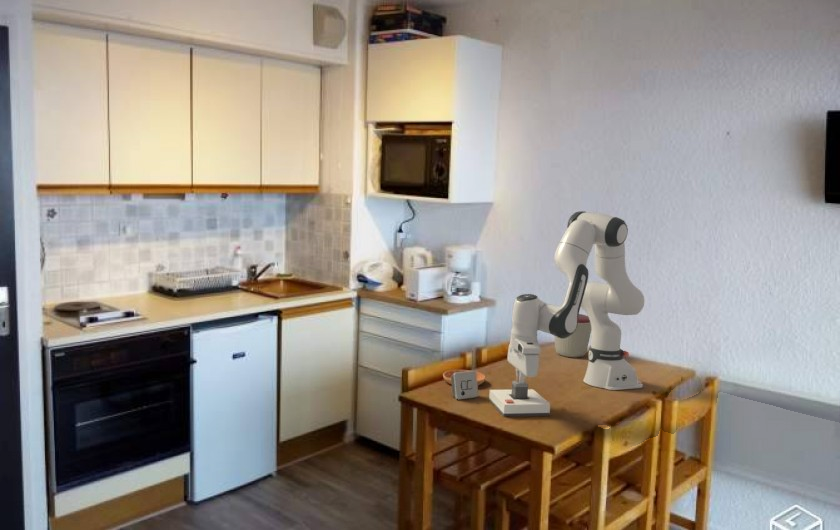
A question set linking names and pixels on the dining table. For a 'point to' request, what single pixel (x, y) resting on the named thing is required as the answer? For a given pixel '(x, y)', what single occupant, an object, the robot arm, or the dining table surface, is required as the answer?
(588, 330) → the canister
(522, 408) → the socket
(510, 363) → the robot arm
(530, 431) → the dining table surface
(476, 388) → the electrical switch
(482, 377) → the saucer
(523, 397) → the grey upright block
